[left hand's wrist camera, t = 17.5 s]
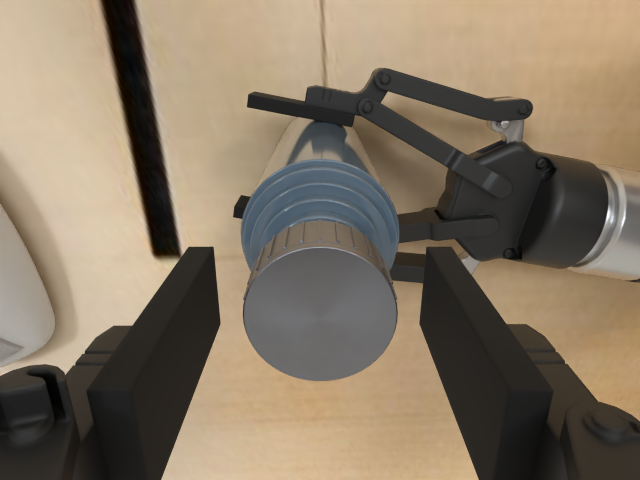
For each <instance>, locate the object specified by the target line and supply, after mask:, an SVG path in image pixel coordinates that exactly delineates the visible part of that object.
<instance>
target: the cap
mask: <svg viewBox="0 0 640 480" xmlns="http://www.w3.org/2000/svg"><path fill="white" fill-rule="evenodd" d="M247 284H248V286H247V289H246V292H245V295H244V299H243V300H245V301H244V306H243V320H244V326H245V330H246V333H247V336H248V338H249V340H250V342H251V344H252V346H253V347H254V349H255V350H256V351H257V353H258V354H259V355H260V356H261V357H262V358H263V359H264V360H265V361H266V362H267V363H269V364H270V365H271V366H272V367H274V368H276V369H277V370H279V371H281V372H283V373H285V374H287V375H290V376H293V377H296V378H300V379H304V380H312V381H329V380H336V379H341V378H345V377H348V376H351V375H353V374H356V373H358V372H360V371H362V370H363V369H365V368H366V367H368V366H370V365H371V364H372V363H373V362H374V361H376V360H377V359H378V358H379V357H380V356H381V355H382V353H383V352H384V351H385V349H386V348H387V347H388V345H389V343H390V341H391V339H392V337H393V335H394V332H395V329H396V324H397V313H398V312H397V303H396V299H397V296H396V293H395V290H394V287H393V282H392V279H391V276H390V273H389V270H388V267H387V264H386V261H385V259H382V256H381V255H380V252H379V249H378V247H377V246H376V247H375V246H374V244H373V243H372V242H371V241H370V240H369V239H368V237H367V235H365V236H364V235H363V234H361V233H360V232H359V231H357V230H355V229H354V227H352V226H351V227H349V226H346V225H344V224H341V223H338V222H337V221H335V222H331V221H321V220H319V221H310V222H304V221H303V222H302V223H300V224H297V225H294V226H292V227H286V229H285V230H284V231H282V232H280V233H279V234H278V235H276V236H275V235H274V236H273V237H272V240H271V241H270V242H269V243H268V244H267V245H266V246H265V247H264V246H263V247H262V250H261V253H260V255H259V257H258V260H255V262H254V265H253V268H252V271H251V274H250V277H249V280H248V283H247Z"/></svg>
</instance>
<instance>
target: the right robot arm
mask: <svg viewBox="0 0 640 480" xmlns="http://www.w3.org/2000/svg"><path fill="white" fill-rule="evenodd" d="M388 91H389V92H392V93H396V94H399V95H402V96H406V97H409V98H412V99H416V100H419V101H422V102H426V103H429V104H432V105H436V106H439V107H442V108H446V109H449V110H452V111H456V112H459V113H462V114H466V115H469V116H472V117H476V118H479V119H483V120H486V124H487V127H488V128H489V129H490V130H493V131H495V132H499V133H500V134H501V137H502V140H501V141H498V142H496V143H494V144H492V145H489V146H487V147H485V148H483V149H480V150H478V151H476V152H474V153H471V154H469V155H466V154H464V153H462V152H461V151H459V150H457V149H456V148H454V147H452V146H451V145H449V144H447V143H446V142H444V141H442V140H441V139H439V138H437V137H436V136H434V135H432V134H431V133H429V132H427V131H426V130H424V129H422V128H421V127H419V126H417V125H416V124H414V123H413V122H411V121H409V120H408V119H406V118H404V117H403V116H401V115H399V114H398V113H396V112H394V111H393V110H391V109H389V108H388V107H386V106H384V105H383V104H381V101H382V100H383V98H384V96H385V95H386V93H387V92H388ZM247 107H249V108H254V109H259V110H265V111H270V112H275V113H280V114H285V115H290V116H295V117H301V118H306V119H311V120H316V121H321V122H326V123H332V124H337V125H342V126H347V127H352V126H353V122H354V117H355V115H358V116H362V117H364V118H365V119H367V120H369V121H371V122H372V123H374V124H376V125H377V126H379V127H381V128H382V129H384V130H386V131H387V132H389V133H391V134H392V135H394V136H396V137H398V138H399V139H401V140H403V141H404V142H406V143H408V144H409V145H411V146H413V147H414V148H416V149H418V150H419V151H421V152H423V153H425V154H426V155H428V156H430V157H431V158H433V159H435V160H436V161H438V162H440V163H441V164H443V165H445V166H446V167H448V168H449V169H448V172H447V175H446V189H445V191H444V193H443V194H442V196H441V198H440V199H439V203H438V206H437V207H433V208H426V209H423V210H422V211H419V212H412V213H405V214H398V215H397V217H398V221H399V243H402V242H410V241H418V240H425V239H431V240H435V241H440V240H448V239H455V240H456V241H457V242H458V243H459V244H460V245H461V246H462V247H463V249H464V250H465V251H464V252H463V253H462V254H460V255H457V256H458V257H459V258H460V260H461V261H462V263H463V264H464V265H465V267H466V268H467V270H468V271H469V272H470V274H472V273H473V271H474V270H475V268H476V267H477V265H478V264H479V262H480V261H489V260H492V259H497V258H505V259H509V260H513V261H518V262H524V263H530V264H535V265H541V266H546V267H552V268H558V269H564V268H567V269H568V270H571V271H573V272H579V273H585V274H591V275H597V276H604V277H610V278H616V279H622V280H626V281H631V282H639V283H640V172H637V171H632V170H627V169H623V168H618V167H613V166H608V165H602V164H598V165H594V164H593V163H590V162H588V161H583V160H578V159H573V158H568V157H563V156H557V155H552V154H547V153H542V152H537V151H534V150H533V149H531V148H530V147H529V146H528V145H527V144H526V143H524V142H522V139H523V127H524V119H526V118H528V117H529V116H530V115H531V113H532V110H533V106H532V103H531V102H530V101H529V100H526V99H521V98H514V97H497V98H483V97H479V96H476V95H473V94H470V93H466V92H463V91H460V90H456V89H453V88H450V87H447V86H443V85H440V84H437V83H433V82H430V81H427V80H424V79H420V78H417V77H414V76H411V75H407V74H404V73H401V72H397V71H394V70H391V69H386V68H378V69H375V70H374V71H373V72H372V74H371V77H370V79H369V80H368V82H367V84H366V85H365V87H364V88H363V89H362V90H361V91H359V92H356V93H352V92H347V91H342V90H337V89H332V88H327V87H322V86H317V85H315V86H311V87H308V88H307V92H306V98H305V101H300V100H295V99H290V98H285V97H279V96H274V95H269V94H264V93H259V92H253V93H250V94H249V95H248V103H247ZM250 198H251V197H248V196H243V195H241V196H240V198H239V200H238V201H237V203H236V205H235V207H234V215H233V217H235V218H241V219H243V214H244V211H245V208H246V206H247V203H248V201H249V199H250ZM425 259H426V255H425V254H415V253H404V252H397V253H396V256H395V259H394V262H393V265H392V267H391V269H390V271H389V273H390V276H391V279H392V280H396V281H407V282H418V283H423V280H424V270H425Z"/></svg>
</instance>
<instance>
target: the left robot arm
mask: <svg viewBox="0 0 640 480" xmlns="http://www.w3.org/2000/svg"><path fill="white" fill-rule="evenodd" d="M219 326H220V313H219V302H218V291H217V280H216V270H215V259H214V248H213V247H188V249H187V250H186V251H185V253H184V254H183V256H182V257H181V258H180V260H179V261H178V263H177V264H176V265H175V267H174V268H173V270H172V271H171V272H170V274H169V275H168V277H167V278H166V279H165V281H164V282H163V284H162V285H161V286H160V288H159V289H158V291H157V292H156V293H155V295H154V296H153V298H152V299H151V300H150V302H149V303H148V305H147V306H146V307H145V309H144V310H143V312H142V313H141V314H140V316H139V317H138V319H137V320H136V322H135V323H134V324H133V326H113V327H111V328H110V329H108V330H107V331H105V332H104V333H102V334H101V335H99V336H98V337H96V338H95V339H94V341H93V342H92V343H91V344H90V346H89V347H88V348H87V349H86V350H85V354H82V355H81V357H80V358H79V359H78V360H77V361H76V364H75V366H72V368H71V369H70V370H69V371H68V373H67V374H66V375H65V374H64V372H63V371H62V370H61V369H60V368H58V367H56V366H51V365H46V364H44V365H32V366H27V367H23V368H20V369H16V370H13V371H10V372H8V373H6V374H4V375H2V376H0V480H161V478H162V476H163V473H164V471H165V468H166V465H167V463H168V460H169V457H170V455H171V452H172V450H173V447H174V444H175V442H176V439H177V436H178V434H179V431H180V429H181V426H182V423H183V421H184V418H185V415H186V413H187V410H188V408H189V405H190V402H191V400H192V397H193V394H194V392H195V389H196V387H197V384H198V381H199V379H200V376H201V374H202V371H203V368H204V366H205V363H206V360H207V358H208V355H209V353H210V350H211V347H212V345H213V342H214V339H215V337H216V334H217V332H218V329H219ZM420 326H421V329H422V332H423V334H424V337H425V339H426V342H427V345H428V347H429V350H430V353H431V355H432V358H433V360H434V363H435V366H436V368H437V371H438V373H439V376H440V379H441V381H442V384H443V387H444V389H445V392H446V394H447V397H448V400H449V402H450V405H451V408H452V410H453V413H454V415H455V418H456V421H457V423H458V426H459V429H460V431H461V434H462V436H463V439H464V442H465V444H466V447H467V450H468V452H469V455H470V457H471V460H472V463H473V465H474V468H475V471H476V473H477V476H478V478H479V480H640V421H638V420H637V419H636V418H635V417H633V416H632V415H631V414H629V413H627V412H625V411H623V410H621V409H619V408H617V407H615V406H611V405H608V404H605V403H602V402H598V401H597V400H596V398H595V397H594V396H593V395H592V394H591V392H590V391H589V390H588V389H587V387H586V386H585V385H584V384H583V383H582V381H581V380H580V379H579V378H578V377H577V375H576V374H575V373H574V372H573V370H572V369H571V368H570V367H569V366H568V364H565V361H564V359H563V358H562V357H561V356H560V355H559V353H558V352H556V351H555V348H554V347H553V346H552V345H551V344H550V342H549V341H548V340H547V339H546V338H545V336H543V335H542V334H540V333H539V332H537V331H536V330H534V329H533V328H531V327H530V326H528V325H527V324H506V323H505V322H504V320H503V319H502V317H501V316H500V314H499V313H498V312H497V310H496V309H495V307H494V306H493V305H492V303H491V302H490V300H489V299H488V298H487V296H486V295H485V293H484V292H483V291H482V289H481V288H480V286H479V285H478V284H477V282H476V281H475V279H474V278H473V277H472V275H471V274H470V272H469V271H468V270H467V268H466V267H465V265H464V264H463V263H462V261H461V260H460V258H459V257H458V256H457V254H456V253H455V251H454V250H453V249H452V247H427V248H426V259H425V270H424V280H423V291H422V302H421V313H420Z"/></svg>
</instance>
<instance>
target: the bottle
mask: <svg viewBox="0 0 640 480" xmlns="http://www.w3.org/2000/svg"><path fill="white" fill-rule="evenodd" d="M319 220H321V221H331V222H335V221H337V222H338V223H341V224H344V225H346V226H349V227H351V226H352V227H354V229H355V230H357V231H359V232H360V233H361V234H363V235H364V236H365V235H367V237H368V239H369V240H370V241H371V242H372V243H373V244H374V246H375V247H376V246H377V247H378V249H379V252H380V255H381V256H382V259H385V261H386V264H387V267H388V270H389V271H390V269H391V267H392V265H393V262H394V259H395V256H396V253H397V249H398V244H399V221H398V217H397V213H396V210H395V207H394V205H393V202H392V201H391V199H390V197H389V195H388V193H387V191H386V189H385V187H384V185H383V183H382V181H381V179H380V177H379V176H378V174H377V172H376V170H375V168H374V166H373V164H372V162H371V160H370V158H369V156H368V154H367V152H366V150H365V149H364V147H363V145H362V143H361V141H360V139H359V137H358V135H357V133H356V131H355V129H354V128H353V127H347V126H342V125H337V124H332V123H326V122H321V121H316V120H311V119H306V118H301V117H297V118H296V119H294V120H293V121H292V122H291V123H290V124H289V125H288V127H287V128H286V130H285V132H284V134H283V136H282V137H281V139H280V141H279V143H278V145H277V147H276V149H275V151H274V153H273V155H272V157H271V159H270V161H269V163H268V165H267V167H266V168H265V170H264V172H263V174H262V176H261V178H260V180H259V182H258V184H257V186H256V188H255V190H254V192H253V194H252V196H251V198H250V199H249V201H248V203H247V206H246V208H245V211H244V214H243V219H242V224H241V242H242V247H243V252H244V255H245V258H246V261H247V264H248V267H249V269H250V271H252V268H253V265H254V262H255V260H258V257H259V255H260V253H261V250H262V247H263V246H264V247H265V246H266V245H267V244H268V243H269V242H270V241H271V240H272V237H273V236H274V235H275V236H276V235H278V234H279V233H280V232H282V231H284V230H285V229H286V227H292V226H294V225H297V224H300V223H302V222H303V221H304V222H310V221H319Z"/></svg>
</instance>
